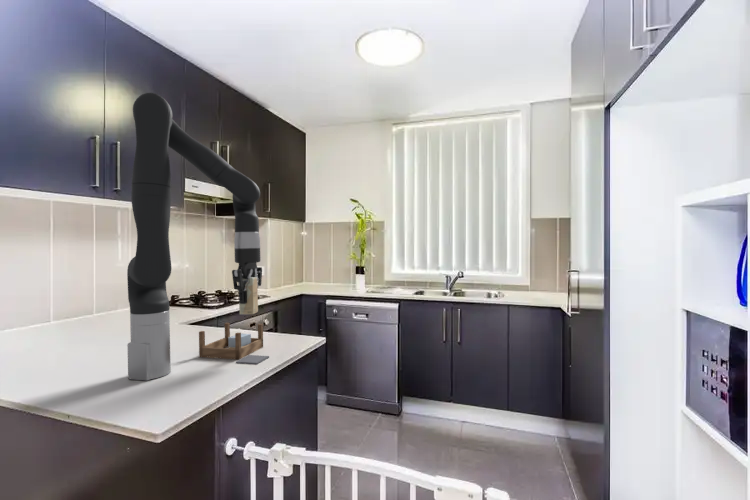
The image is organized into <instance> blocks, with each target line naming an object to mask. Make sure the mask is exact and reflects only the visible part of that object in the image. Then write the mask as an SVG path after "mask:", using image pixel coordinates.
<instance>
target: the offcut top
mask: <svg viewBox="0 0 750 500" xmlns="http://www.w3.org/2000/svg"><path fill="white" fill-rule="evenodd" d="M240 333H241V347H242V346H245V345H248V344H250V343H251V338H252V334H251V333H242V332H240ZM228 347H235V334H234V335H232V336H231V335H230V337H228V346H227V348H228Z"/></svg>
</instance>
